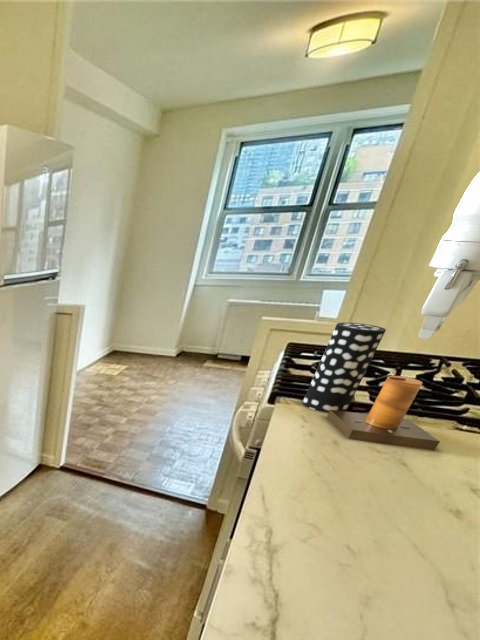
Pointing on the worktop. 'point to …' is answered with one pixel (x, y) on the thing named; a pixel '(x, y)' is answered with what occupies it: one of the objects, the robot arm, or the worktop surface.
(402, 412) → the orange ribbed cylinder
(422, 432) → the brown flat wooden slab
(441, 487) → the worktop surface
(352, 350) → the spotted tube
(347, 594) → the worktop surface
